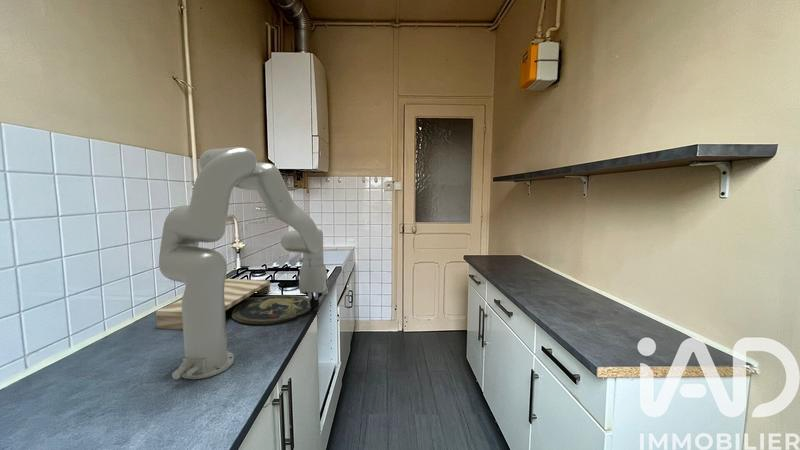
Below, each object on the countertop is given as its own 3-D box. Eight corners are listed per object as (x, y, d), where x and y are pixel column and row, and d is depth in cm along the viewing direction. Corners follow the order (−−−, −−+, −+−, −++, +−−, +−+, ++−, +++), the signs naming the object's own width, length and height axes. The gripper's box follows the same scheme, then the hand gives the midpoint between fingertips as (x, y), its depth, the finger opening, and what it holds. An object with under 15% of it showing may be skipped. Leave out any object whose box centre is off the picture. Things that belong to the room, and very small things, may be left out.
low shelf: (214, 330, 107) (213, 313, 106) (157, 328, 109) (156, 310, 108) (270, 293, 146) (269, 280, 145) (227, 291, 147) (227, 278, 147)
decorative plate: (294, 324, 109) (212, 319, 113) (294, 330, 109) (212, 324, 113) (325, 296, 139) (259, 292, 142) (325, 300, 139) (259, 296, 142)
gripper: (289, 263, 119) (291, 311, 121) (329, 264, 118) (330, 313, 120) (298, 259, 127) (299, 304, 129) (335, 260, 125) (336, 305, 128)
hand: (314, 308), depth 125 cm, fingers closed
